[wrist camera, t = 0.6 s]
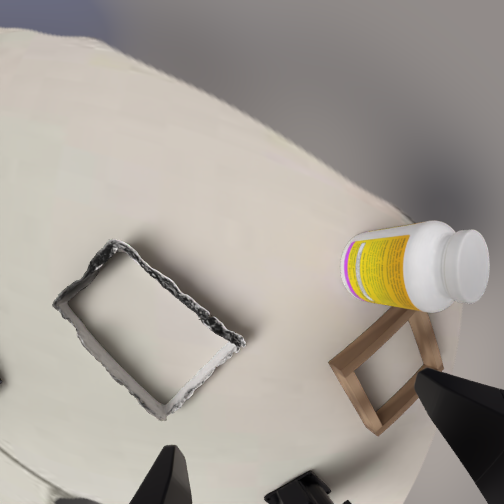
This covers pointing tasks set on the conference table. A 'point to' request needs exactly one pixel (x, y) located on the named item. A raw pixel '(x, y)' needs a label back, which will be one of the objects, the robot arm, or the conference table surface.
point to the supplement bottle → (416, 266)
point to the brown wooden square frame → (367, 347)
